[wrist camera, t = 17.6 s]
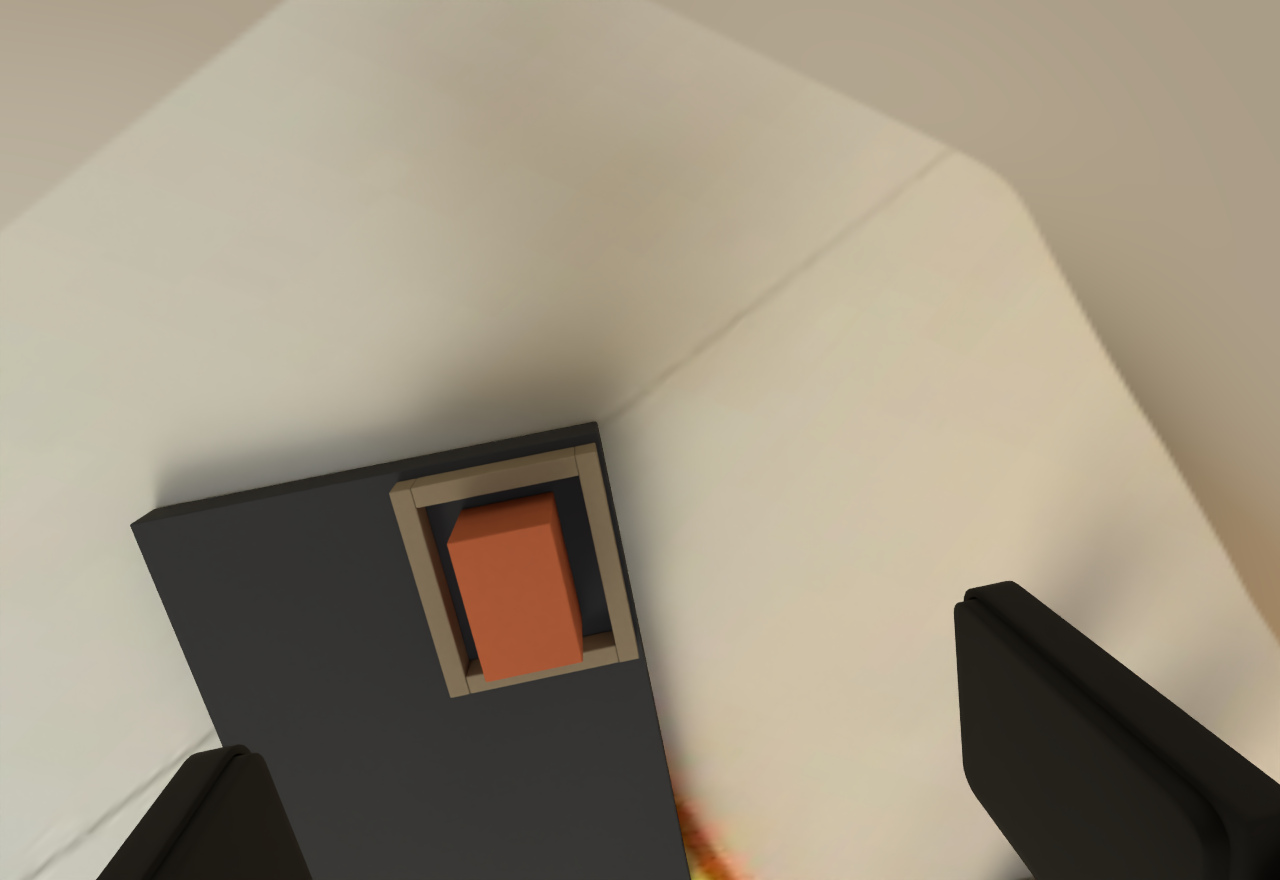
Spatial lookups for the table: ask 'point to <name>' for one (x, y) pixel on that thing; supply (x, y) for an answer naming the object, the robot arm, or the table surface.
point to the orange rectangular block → (517, 586)
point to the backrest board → (423, 671)
